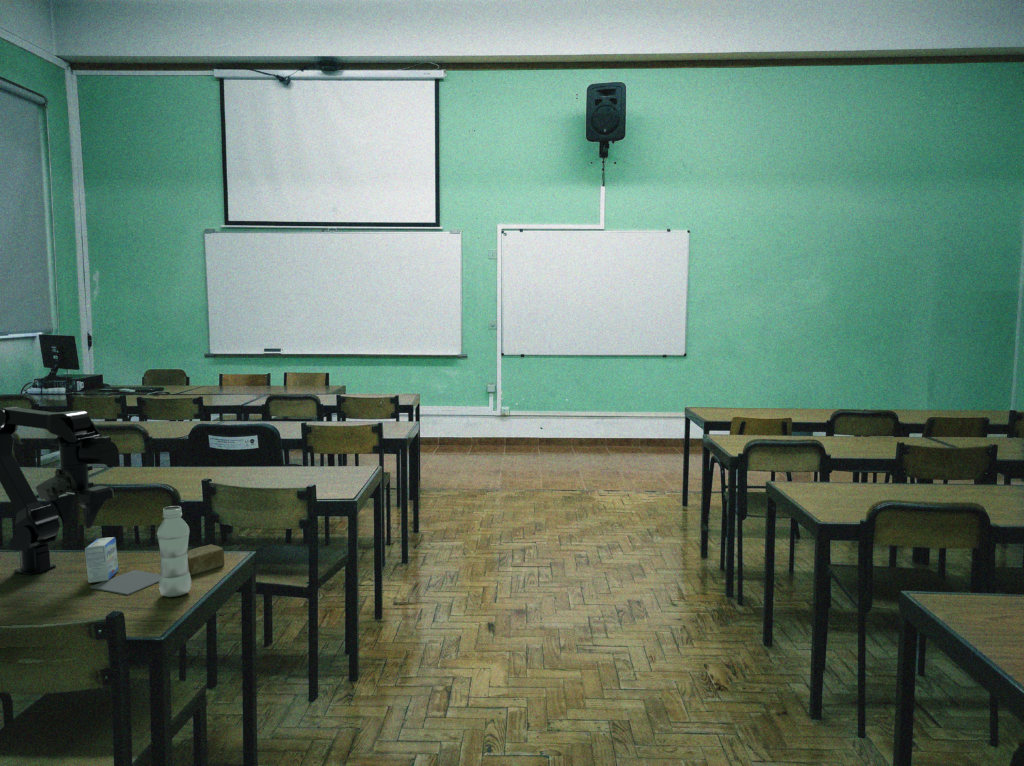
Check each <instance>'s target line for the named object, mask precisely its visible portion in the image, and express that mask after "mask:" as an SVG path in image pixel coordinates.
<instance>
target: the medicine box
mask: <svg viewBox="0 0 1024 766" xmlns="http://www.w3.org/2000/svg"><path fill="white" fill-rule="evenodd" d="M117 551H118V550H117V539H116V537H115V536H112V537H102V538H96V539H95V540H93V542H91V543H90V544H89V545H88V546H86V547H85V548H84V553H85V555H84V556H85V563H86V573H87V580H88V581H87V582H88V584H90V583H92V584H93V583H94V584H95V583H101V582H104V581H109V580H110V579H112V578H113V576H115V574H116V573H117V572H118V571H119V562H118V561H119V560H118V552H117Z"/></svg>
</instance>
